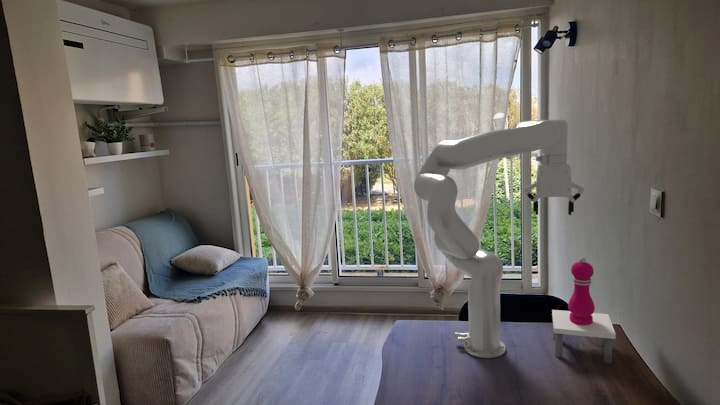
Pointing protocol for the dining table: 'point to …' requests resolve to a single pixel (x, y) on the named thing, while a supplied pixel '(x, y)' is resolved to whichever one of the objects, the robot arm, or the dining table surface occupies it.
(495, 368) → the dining table surface
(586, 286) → the pepper mill
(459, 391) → the dining table surface
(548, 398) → the dining table surface
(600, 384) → the dining table surface
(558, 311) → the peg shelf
